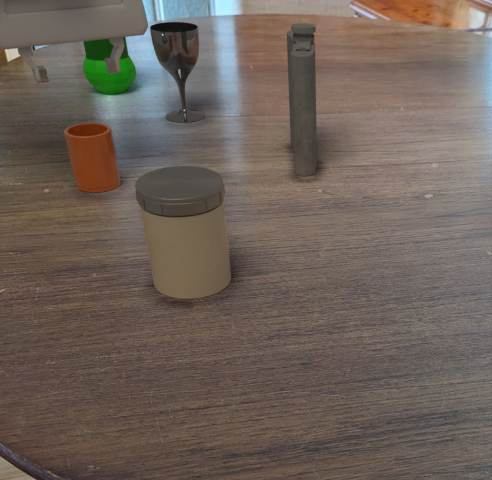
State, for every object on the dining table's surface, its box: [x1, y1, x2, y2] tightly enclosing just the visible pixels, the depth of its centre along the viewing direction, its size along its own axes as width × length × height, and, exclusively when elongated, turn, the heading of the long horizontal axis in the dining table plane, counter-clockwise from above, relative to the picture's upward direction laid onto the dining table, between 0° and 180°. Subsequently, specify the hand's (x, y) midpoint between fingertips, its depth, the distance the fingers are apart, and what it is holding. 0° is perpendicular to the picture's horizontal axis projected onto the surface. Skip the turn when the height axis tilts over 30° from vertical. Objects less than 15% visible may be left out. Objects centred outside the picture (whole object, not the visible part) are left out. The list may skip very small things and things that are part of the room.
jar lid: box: [134, 165, 226, 216], centre depth 79 cm, size 9×9×2 cm
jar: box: [139, 199, 232, 300], centre depth 82 cm, size 9×9×12 cm
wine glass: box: [149, 21, 206, 123], centre depth 128 cm, size 8×8×15 cm
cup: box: [63, 122, 122, 193], centre depth 104 cm, size 6×6×8 cm
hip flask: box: [286, 22, 318, 177], centre depth 112 cm, size 16×4×20 cm, turn 9°
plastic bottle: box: [82, 37, 137, 95], centre depth 135 cm, size 10×10×25 cm
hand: (78, 77), depth 98 cm, fingers open, 8 cm apart
